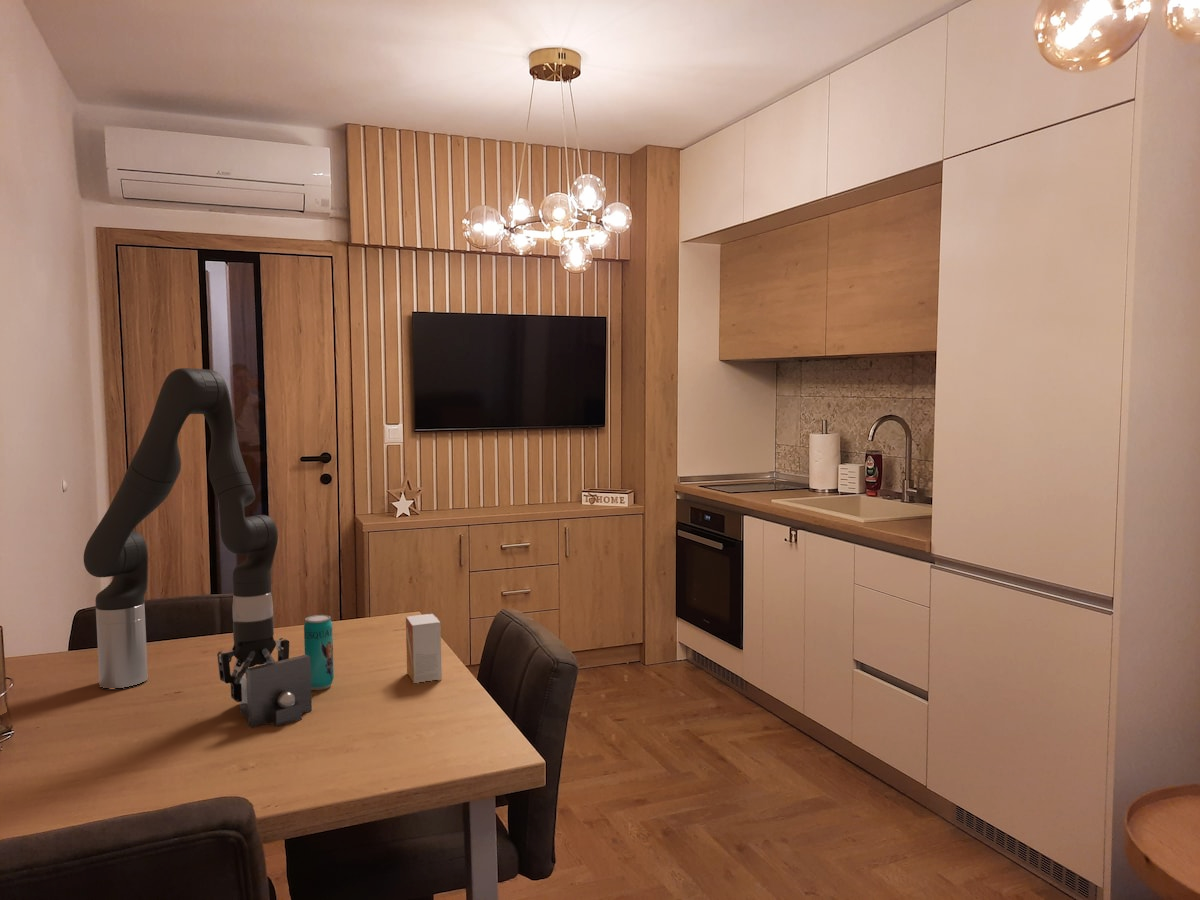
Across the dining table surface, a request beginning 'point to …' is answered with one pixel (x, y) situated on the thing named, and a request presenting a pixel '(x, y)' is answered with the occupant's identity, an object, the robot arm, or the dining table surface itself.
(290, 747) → the dining table surface
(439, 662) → the small box
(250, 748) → the dining table surface
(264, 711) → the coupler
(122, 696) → the dining table surface
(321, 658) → the beverage can
